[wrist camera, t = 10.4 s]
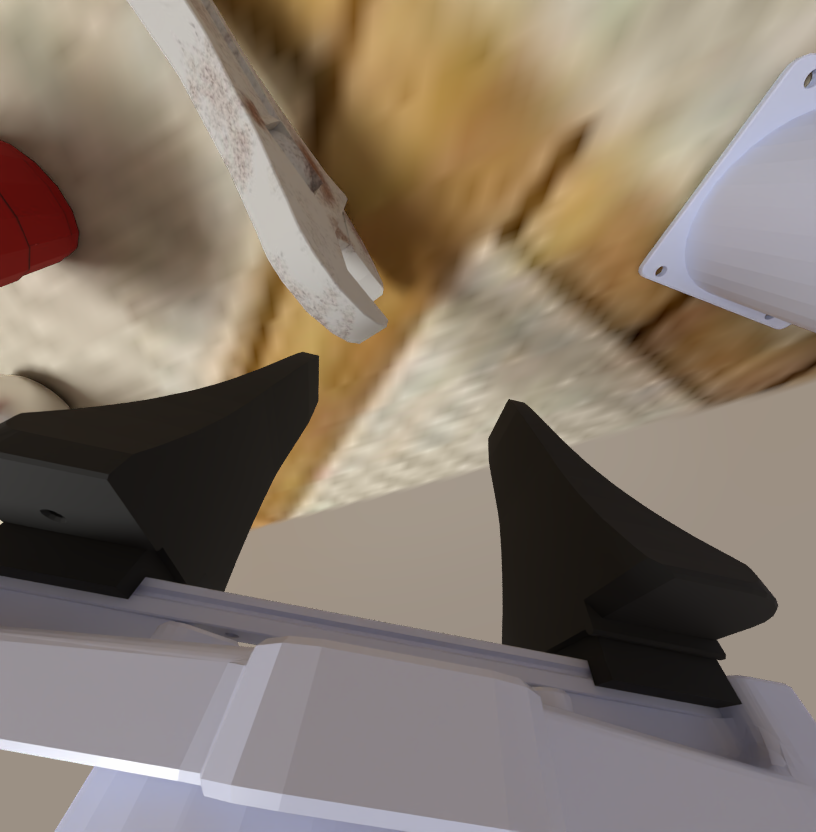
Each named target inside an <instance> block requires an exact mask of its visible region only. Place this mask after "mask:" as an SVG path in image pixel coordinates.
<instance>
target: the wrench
mask: <svg viewBox="0 0 816 832" xmlns="http://www.w3.org/2000/svg"><path fill="white" fill-rule="evenodd" d="M127 1H128V3H129V4H130V6H131V7H132V9H133V10H134V12H135V13H136V14H137V16H138V17H139V19H140V20H141V22H142V23H143V25H144V26H145V28H146V29H147V31H148V32H149V33H150V35H151V36H152V38H153V39H154V41H155V42H156V44H157V45H158V47H159V48H160V50H161V51H162V52H163V54H164V55H165V57H166V58H167V60H168V61H169V63H170V64H171V66H172V67H173V69H174V70H175V71H176V73H177V74H178V76H179V78H180V80H181V81H182V83H183V85H184V87H185V89H186V91H187V93H188V95H189V97H190V98H191V100H192V102H193V104H194V106H195V108H196V110H197V112H198V113H199V115H200V117H201V119H202V121H203V123H204V125H205V127H206V129H207V130H208V132H209V134H210V136H211V138H212V140H213V142H214V144H215V146H216V147H217V149H218V151H219V153H220V155H221V157H222V159H223V161H224V163H225V164H226V166H227V168H228V170H229V172H230V175H231V177H232V179H233V181H234V184H235V186H236V188H237V190H238V192H239V195H240V197H241V199H242V201H243V204H244V206H245V208H246V210H247V213H248V215H249V217H250V219H251V221H252V224H253V226H254V228H255V230H256V233H257V235H258V238H259V240H260V242H261V245H262V247H263V250H264V252H265V254H266V256H267V258H268V260H269V262H270V263H271V265H272V266H273V268H274V269H275V271H276V273H277V274H278V276H279V277H280V279H281V280H282V282H283V283H284V284H285V286H286V287H287V288H288V289H289V291H290V292H291V293H292V294H293V295H294V297H295V298H296V299H297V300H298V302H299V303H300V304H301V305H302V306H303V308H304V309H305V310H306V311H307V312H308V313H309V314H310V315H311V316H313V317H314V318H315V319H316V320H317V321H319V322H320V323H321V324H322V325H323V326H324V327H326V328H327V329H328V330H329V331H330V332H332V333H333V334H335V335H337V336H338V337H340V338H342V339H344V340H346V341H348V342H352V343H359V344H360V343H361V342H363V341H365V340H366V339H368V338H369V337H371V336H373V335H374V334H376V333H377V332H379V331H381V330H382V329H384V328H385V327H387V323H388V319H387V318H386V317H385V316H384V314H383V313H382V312H381V311H380V309H379V308H378V307H377V306H376V304H375V303H374V302H373V301H374V300H375V299H377V298H378V297H380V296H381V295H383V283H382V280H381V278H380V276H379V274H378V272H377V269H376V267H375V265H374V263H373V261H372V259H371V257H370V255H369V253H368V251H367V249H366V247H365V245H364V243H363V241H362V240H361V238H360V236H359V234H358V233H357V231H356V229H355V228H354V226H353V224H352V222H351V221H350V219H349V217H348V216H347V214H346V212H345V211H344V207H345V205H346V202H347V197H346V195H345V194H344V193H343V192H342V191H341V190H340V188H339V187H338V186H337V185H336V184H335V183H334V181H333V180H332V179H331V178H330V177H329V176H328V175H327V173H326V172H325V171H324V169H323V168H322V167H321V165H320V164H319V162H318V161H317V160H316V158H315V157H314V155H313V154H312V153H311V151H310V150H309V149H308V147H307V146H306V144H305V143H304V142H303V140H302V139H301V137H300V136H299V135H298V133H297V132H296V131H295V129H294V128H293V126H292V125H291V124H290V122H289V121H288V119H287V118H286V116H285V115H284V113H283V112H282V111H281V109H280V108H279V106H278V105H277V103H276V102H275V100H274V99H273V97H272V96H271V94H270V93H269V91H268V90H267V88H266V87H265V85H264V84H263V82H262V81H261V79H260V78H259V76H258V75H257V73H256V72H255V70H254V69H253V67H252V65H251V64H250V62H249V60H248V59H247V57H246V55H245V54H244V52H243V50H242V49H241V47H240V45H239V44H238V42H237V40H236V39H235V37H234V35H233V34H232V32H231V30H230V29H229V27H228V25H227V24H226V22H225V20H224V19H223V17H222V15H221V14H220V12H219V10H218V9H217V7H216V5H215V4H214V2H213V0H127Z"/></svg>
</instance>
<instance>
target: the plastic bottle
mask: <svg viewBox="0 0 816 832" xmlns="http://www.w3.org/2000/svg"><path fill="white" fill-rule="evenodd" d="M65 409H70V408H69V406H68V405H67V404H66V403H65V402H64V401H63V400H62V399H61V398H60V397H59V396H58V395H57V394H55V393H54V392H53V391H51V390H50V389H48V388H47V387H45V386H43V385H42V384H40V383H38V382H36V381H33V380H31V379H29V378H26V377H23V376H18V375H0V423H2V422H4V421H6V420H8V419H10V418H12V417H13V416H15V415H18V414H20V413H27V412H41V411H53V410H65Z"/></svg>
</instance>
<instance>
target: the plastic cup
mask: <svg viewBox="0 0 816 832" xmlns="http://www.w3.org/2000/svg"><path fill="white" fill-rule="evenodd" d="M78 236H79V231H78V228H77V225H76V221H75V218H74V215H73V212H72V210H71V208H70V207H69V205H68V203H67V202H66V200H65V198H64V197H63V195H62V194H61V192H60V190H59V189H58V187H57V186H56V185H55V184H54V183H53V182H52V180H51V179H50V178H49V177H48V176H47V175H46V174H45V173H44V172H43V171H42V169H41V168H40V167H39V166H38V165H37V164H36V163H35V162H34V161H32V160H31V159H30V158H28V157H27V156H26V155H24V154H23V153H22V152H20V151H19V150H17V149H16V148H15V147H13V146H12V145H11V144H8V143H6V142H3V141H1V140H0V287H2V286H5V285H7V284H10V283H13V282H15V281H18V280H19V279H20V278H21V277H22V276H24V275H27V274H29V273H32V272H34V271H37V270H40V269H42V268H45V267H47V266H50V265H53V264H55V263H58V262H60V261H61V260H62V259H64V258H65V257H67V256H69V255H70V254H71V253H72V252H73V251H74V250H75V249H76V248H77V245H78Z"/></svg>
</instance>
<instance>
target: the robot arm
mask: <svg viewBox="0 0 816 832" xmlns="http://www.w3.org/2000/svg"><path fill="white" fill-rule="evenodd" d="M810 73H812V74H813V75H812V80H811V81H810V83H809V85H808V86H807V87H806V88H805V87H804V81H805V79H806V77H807V76H808V75H809V74H810ZM661 266H663V269H662V271H661V272H660V273H659V274H657V275H655V272H656V270H657V269H658V268H659V267H661ZM638 272H639V275H641V276H642V277H644V278H647V279H649V280H652V281H654V282H657V283H660V284H662V285H665V286H667V287H670V288H672V289H675V290H677V291H680V292H683V293H685V294H688V295H690V296H693V297H695V298H698V299H700V300H703V301H706V302H708V303H711V304H713V305H716V306H718V307H721V308H723V309H726V310H729V311H731V312H734V313H736V314H739V315H741V316H744V317H746V318H749V319H752V320H754V321H757V322H759V323H762V324H764V325H767V326H769V327H772V328H775V329H783V328H786V327H788V326H789V325H791V324H794V325H796V326H799V327H802V328H804V329H807V330H810V331H812V332H815V333H816V53H810V54H807V55H804V56H802V57H799V58H796V59H795V60H794V61H792V62H791V63H790V64H789V65H788V66H787V67H786V68H785V69H784V70H783V71H782V73H781V74H780V76H779V77H778V78H777V80H776V81H775V82H774V84H773V85H772V86H771V88H770V89H769V91H768V92H767V93H766V95H765V96H764V97H763V99H762V100H761V101H760V103H759V104H758V105H757V107H756V108H755V110H754V111H753V112H752V114H751V115H750V116H749V118H748V119H747V120H746V122H745V123H744V125H743V126H742V127H741V129H740V130H739V131H738V133H737V134H736V135H735V137H734V138H733V139H732V141H731V142H730V144H729V145H728V146H727V148H726V149H725V150H724V152H723V153H722V154H721V156H720V157H719V159H718V160H717V161H716V163H715V164H714V165H713V167H712V168H711V169H710V171H709V172H708V173H707V175H706V176H705V178H704V179H703V180H702V182H701V183H700V184H699V186H698V187H697V188H696V190H695V191H694V193H693V194H692V195H691V197H690V198H689V199H688V201H687V202H686V203H685V205H684V206H683V207H682V209H681V210H680V212H679V213H678V214H677V216H676V217H675V218H674V220H673V221H672V222H671V224H670V225H669V226H668V228H667V229H666V231H665V232H664V233H663V235H662V236H661V237H660V239H659V240H658V241H657V243H656V244H655V246H654V247H653V248H652V250H651V251H650V252H649V254H648V255H647V256H646V258H645V259H644V260H643V262H642V263H641V265H640V267H639V271H638ZM766 314H767V316H765V315H766ZM318 386H319V356H318V355H313V354H309V353H305V352H301V353H297V354H295V355H292V356H290V357H287V358H285V359H282V360H280V361H278V362H275V363H273V364H270V365H268V366H266V367H263V368H261V369H258V370H256V371H253V372H250V373H247V374H245V375H242V376H239V377H236V378H234V379H231V380H228V381H225V382H222V383H218V384H215V385H211V386H208V387H204V388H200V389H196V390H192V391H188V392H183V393H178V394H173V395H168V396H164V397H159V398H154V399H148V400H142V401H135V402H129V403H121V404H114V405H106V406H97V407H88V408H77V409H65V410H53V411H41V412H27V413H20V414H18V415H15V416H13V417H12V418H10V419H8V420H6V421H4V422H2V423H0V520H1V521H3V523H2V524H1V525H0V749H2V750H8V751H13V752H20V753H24V754H30V755H36V756H42V757H47V758H52V759H58V760H64V761H69V762H74V763H80V764H86V765H91V766H94V768H93V769H92V771H91V773H90V774H89V776H88V778H87V779H86V781H85V782H84V784H83V786H82V787H81V789H80V791H79V792H78V794H77V796H76V798H75V799H74V801H73V802H72V804H71V805H70V807H69V809H68V810H67V812H66V814H65V815H64V817H63V818H62V820H61V822H60V823H59V825H58V827H57V829H56V830H55V832H816V722H815V721H814V719H813V718H812V716H811V715H810V714H809V712H808V711H807V709H806V708H805V706H804V705H803V703H802V702H801V701H800V699H799V698H798V697H797V695H796V694H795V692H794V691H793V689H792V688H791V687H790V686H788V685H786V684H784V683H779V682H773V681H768V680H763V679H758V678H753V677H747V676H738V675H734V676H726V675H725V673H724V672H723V670H722V668H721V666H720V665H719V663H718V661H717V660H723V659H726V654H725V653H724V651H723V649H722V648H721V646H720V644H719V643H718V641H717V639H720V638H722V637H725V636H728V635H731V634H734V633H737V632H740V631H743V630H746V629H749V628H751V627H754V626H756V625H759V624H761V623H764V622H765V621H767V620H768V619H770V618H771V617H772V616H773V615H774V614H775V612H776V610H777V607H778V604H777V601H776V598H774V596H773V595H772V594H771V592H770V591H769V590H768V589H767V587H766V586H765V585H764V584H763V583H762V581H761V580H760V579H759V578H758V577H757V575H756V574H755V573H754V572H753V571H752V570H751V569H750V568H749V567H748V566H747V565H746V564H744V563H742V562H740V561H738V560H736V559H734V558H733V557H731V556H729V555H727V554H725V553H723V552H721V551H719V550H718V549H716V548H714V547H712V546H710V545H709V544H707V543H705V542H703V541H701V540H699V539H698V538H696V537H694V536H692V535H691V534H689V533H687V532H685V531H684V530H682V529H680V528H679V527H677V526H675V525H674V524H672V523H670V522H669V521H667V520H665V519H664V518H662V517H661V516H659V515H658V514H656V513H654V512H653V511H651V510H650V509H648V508H647V507H645V506H644V505H642V504H641V503H639V502H638V501H636V500H635V499H634V498H632V497H631V496H629V495H628V494H626V493H625V492H623V491H622V490H621V489H619V488H618V487H616V486H615V485H614V484H613V483H611V482H610V481H609V480H608V479H606V478H605V477H604V476H602V475H601V474H600V473H599V472H597V471H596V470H595V469H594V468H592V467H591V466H590V465H589V464H588V463H586V462H585V461H584V460H583V459H582V458H581V457H580V456H579V455H578V454H577V453H576V452H574V451H573V450H572V449H571V448H570V447H569V446H568V445H567V444H566V443H565V442H564V441H563V440H562V439H561V438H560V437H559V436H558V435H557V434H556V433H555V432H554V431H553V430H552V429H551V428H550V427H549V426H548V425H547V424H546V423H545V422H544V421H543V420H542V419H541V418H540V417H539V416H538V415H537V414H536V413H535V412H534V411H533V410H532V409H531V408H530V407H529V406H528V405H526V404H525V403H523V402H519V401H514V400H510V399H508V401H507V403H506V405H505V407H504V409H503V411H502V413H501V415H500V417H499V419H498V421H497V423H496V425H495V427H494V429H493V431H492V432H491V434H490V436H489V438H488V451H489V464H490V470H491V476H492V482H493V487H494V493H495V498H496V503H497V509H498V516H499V523H500V536H501V552H502V583H503V584H502V585H503V586H502V587H503V620H502V644H497V643H492V642H487V641H482V640H476V639H471V638H466V637H460V636H455V635H449V634H445V633H439V632H434V631H429V630H423V629H418V628H413V627H407V626H402V625H396V624H391V623H386V622H380V621H375V620H370V619H365V618H360V617H355V616H349V615H344V614H338V613H333V612H327V611H323V610H318V609H312V608H307V607H302V606H296V605H291V604H285V603H281V602H274V601H270V600H265V599H259V598H254V597H249V596H243V595H238V594H233V593H227V592H224V591H225V588H226V586H227V583H228V581H229V578H230V576H231V573H232V571H233V568H234V566H235V563H236V560H237V558H238V556H239V554H240V551H241V549H242V547H243V544H244V542H245V540H246V537H247V535H248V533H249V530H250V528H251V526H252V524H253V521H254V519H255V517H256V515H257V513H258V511H259V508H260V506H261V504H262V502H263V500H264V498H265V496H266V494H267V492H268V490H269V488H270V486H271V483H272V481H273V479H274V477H275V476H276V474H277V472H278V470H279V469H280V467H281V465H282V464H283V462H284V461H285V459H286V457H287V456H288V454H289V453H290V451H291V450H292V448H293V447H294V445H295V443H296V442H297V440H298V439H299V437H300V436H301V434H302V432H303V431H304V429H305V428H306V426H307V424H308V423H309V421H310V419H311V416H312V414H313V412H314V410H315V407H316V405H317V403H318ZM238 642H243V643H248V644H254V645H257V646H256V647H242V646H239V645H238Z"/></svg>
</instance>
